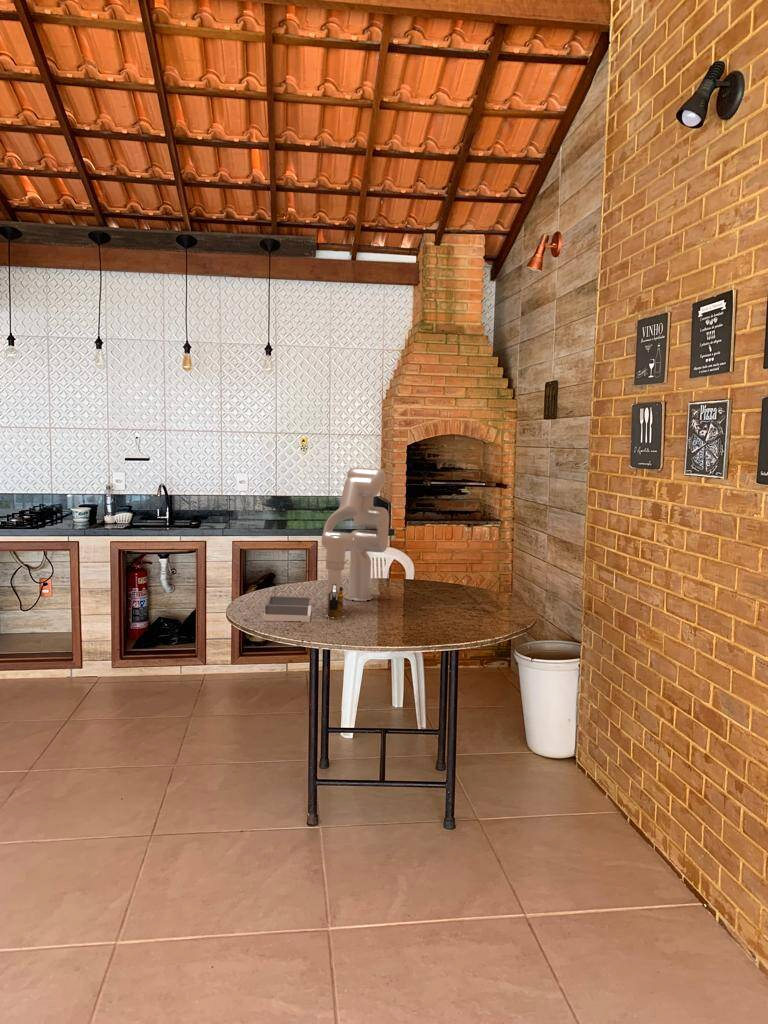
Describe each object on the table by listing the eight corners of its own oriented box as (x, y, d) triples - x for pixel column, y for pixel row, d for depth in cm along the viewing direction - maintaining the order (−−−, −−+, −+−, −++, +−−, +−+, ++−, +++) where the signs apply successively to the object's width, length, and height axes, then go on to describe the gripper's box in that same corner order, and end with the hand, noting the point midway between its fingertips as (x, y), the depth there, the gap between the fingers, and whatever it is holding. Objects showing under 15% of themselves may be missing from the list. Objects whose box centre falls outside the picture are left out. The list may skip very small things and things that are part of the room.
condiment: (346, 617, 282) (347, 588, 281) (328, 619, 277) (329, 589, 276) (337, 613, 288) (338, 584, 287) (319, 615, 283) (320, 586, 282)
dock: (311, 611, 289) (311, 597, 288) (309, 622, 271) (310, 607, 270) (267, 609, 287) (267, 595, 287) (263, 620, 270) (263, 605, 269)
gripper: (326, 561, 289) (324, 601, 291) (325, 568, 272) (323, 611, 273) (344, 562, 290) (342, 602, 291) (344, 569, 272) (342, 612, 274)
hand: (333, 606), depth 282 cm, fingers open, 9 cm apart
